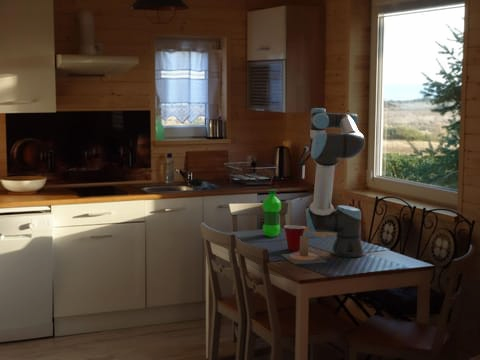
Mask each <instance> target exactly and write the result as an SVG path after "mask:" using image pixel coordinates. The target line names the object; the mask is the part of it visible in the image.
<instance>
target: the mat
mask: <svg viewBox="0 0 480 360" xmlns="http://www.w3.org/2000/svg"><path fill="white" fill-rule="evenodd" d="M290 254H291V253H283V254H281V255H280V256H281V257H283V259H284V258H285V260H287V261H290V263H293V264H294V265H306V264H321V263H322V264H323V263H326V264H327V263H328V261H327V259H324V258H322V257H321V256H318V259H317V260H314V261H297V260H293V259H291V258H290Z"/></svg>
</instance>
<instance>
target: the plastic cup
mask: <svg viewBox="0 0 480 360" xmlns="http://www.w3.org/2000/svg"><path fill="white" fill-rule="evenodd" d="M283 228H284V231H285V237H286V238H285V239H286V243H287V249H288V251H295V252H296V251H300V236H304V232H305V229H306V226H304V225H295V224H294V225H290V224H289V225H287V224H286V225H284V226H283Z"/></svg>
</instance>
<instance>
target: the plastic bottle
mask: <svg viewBox="0 0 480 360" xmlns="http://www.w3.org/2000/svg"><path fill="white" fill-rule="evenodd" d="M267 193H268V194H269V196H267V197H266V198H264V200H263V202H262V210H263V211H264V223H263V225H262V232H263V234H264V236H266V237H268V236H269V238H274V237H277V236H278V235H280V232H281V227H280V226H281V225H280V224H279V223H280V212H281V210H282V201H281V200H280V199H279V198H278V197H276V195H277V189H268V192H267Z"/></svg>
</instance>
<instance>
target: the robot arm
mask: <svg viewBox="0 0 480 360" xmlns="http://www.w3.org/2000/svg"><path fill="white" fill-rule="evenodd" d="M326 111H327V110H326V108H323V107H320V108H319V107H314V108H311V111H310V132H309V133H310V135H309V136H310V138H309V139H310V140H309V141H310V142H309V147H307V146H304V147H303V151H302V153H301V154H300V157H299V159H298V161H297V162H296V164H297V165H299V166H300V168H299V169H300V173H301V174H302V176H301V179H303V180H304V179H305V169H306V168H305V167H306V165H305V163H306V162H307V161H308V160H309V159H310V158H312V159H313V161H314V163H315V164H316V166H315V167H316V168H315V177H314V179H315V180H314V189H313V190H314V191H313V199H312V200H313V201H312V202H311V203H310V205H309V207H307V208H306V209H305V213H306V216H305V217H306V223H307V231H308V232H309V233H326V234H327V233H328V234H329V233H335V234H336V235H335V240H334V242H333V245H332V249H331V254H332V255H333V256H336V257H343V258H358V257H362V256H364V249H363V244H362V240H361V231H362V230H361V227H362V212H361V209H359V208H356V207H354V206H349V205H343V204H342V205H337V207H336V208H335V207H334V206H333V204H332V198H333V189H334V182H335V181H334V180H335V179H334V178H335V170H336V166H337V165H338V164H339V163H340V159H344V160H347V159H349V160H350V159H353V158H355V157H357V156H358V155H360V154H361V153H362V151H363V150H364V149H365V146H366V139H365V136H364V135H363V133H362V132H360V131H359V130H358V122H359V121H358V120H359V119H358V114H357V113H349V112H348V113H335V112H334V113H333V112H330V113H329V112H326ZM326 129H340V130H341V132H326ZM308 151H309V152H310V153H309V154H308V156H306V158H304V156H305V155H306V153H307V152H308ZM303 158H304V160H303Z"/></svg>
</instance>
